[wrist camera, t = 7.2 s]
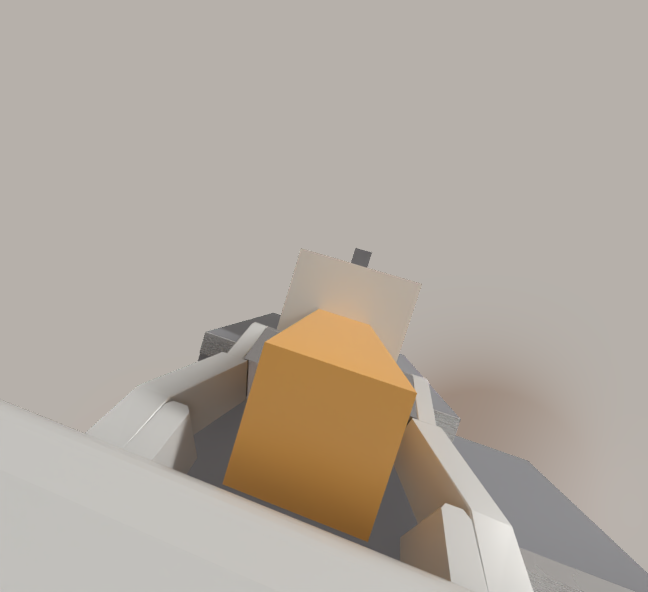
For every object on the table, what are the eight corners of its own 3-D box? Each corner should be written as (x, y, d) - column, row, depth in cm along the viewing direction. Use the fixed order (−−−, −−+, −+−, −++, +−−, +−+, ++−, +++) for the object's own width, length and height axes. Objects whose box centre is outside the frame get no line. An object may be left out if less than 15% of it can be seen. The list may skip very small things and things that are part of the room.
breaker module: (475, 584, 4) (620, 174, 4) (133, 449, 5) (235, 82, 5) (370, 346, 23) (394, 271, 23) (302, 324, 24) (325, 250, 24)
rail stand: (576, 1007, 12) (776, 527, 11) (87, 743, 14) (205, 332, 13) (461, 645, 24) (548, 402, 23) (206, 537, 26) (273, 312, 25)
